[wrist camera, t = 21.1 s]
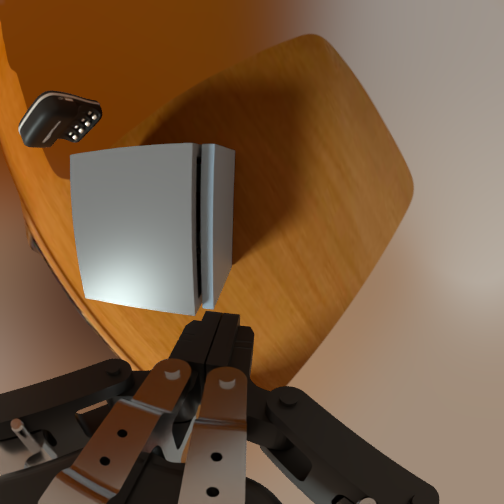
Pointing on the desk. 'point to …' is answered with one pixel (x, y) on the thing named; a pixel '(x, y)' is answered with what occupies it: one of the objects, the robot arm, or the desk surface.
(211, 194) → the drawer
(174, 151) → the cabinet
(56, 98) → the battery charger
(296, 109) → the desk surface
